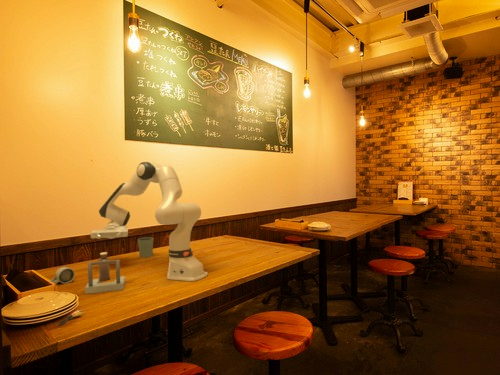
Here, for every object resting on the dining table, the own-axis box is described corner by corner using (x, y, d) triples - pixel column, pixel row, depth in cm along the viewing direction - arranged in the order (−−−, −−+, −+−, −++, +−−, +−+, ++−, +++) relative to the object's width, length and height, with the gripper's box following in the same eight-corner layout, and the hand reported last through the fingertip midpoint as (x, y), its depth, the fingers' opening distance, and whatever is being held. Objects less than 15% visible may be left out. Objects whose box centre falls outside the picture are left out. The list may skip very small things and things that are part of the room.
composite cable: (60, 327, 112) (59, 320, 112) (51, 325, 114) (51, 318, 114) (84, 316, 121) (84, 309, 121) (76, 314, 123) (76, 307, 123)
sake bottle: (111, 278, 166) (110, 252, 165) (103, 281, 161) (102, 254, 161) (105, 277, 168) (104, 251, 168) (97, 280, 164) (96, 253, 163)
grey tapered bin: (148, 258, 208) (148, 240, 208) (135, 257, 210) (134, 239, 210) (156, 254, 218) (155, 237, 218) (143, 254, 220) (142, 237, 220)
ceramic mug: (69, 278, 168) (69, 264, 168) (75, 281, 162) (74, 266, 162) (47, 283, 160) (46, 269, 160) (52, 287, 155) (51, 272, 154)
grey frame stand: (90, 285, 156) (89, 257, 155) (125, 281, 160) (124, 254, 160) (85, 293, 144) (84, 263, 144) (122, 289, 149) (121, 260, 148)
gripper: (92, 226, 187) (87, 232, 174) (129, 225, 193) (126, 230, 180) (93, 236, 188) (87, 243, 175) (129, 235, 193) (126, 241, 180)
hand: (107, 236), depth 177 cm, fingers open, 8 cm apart
